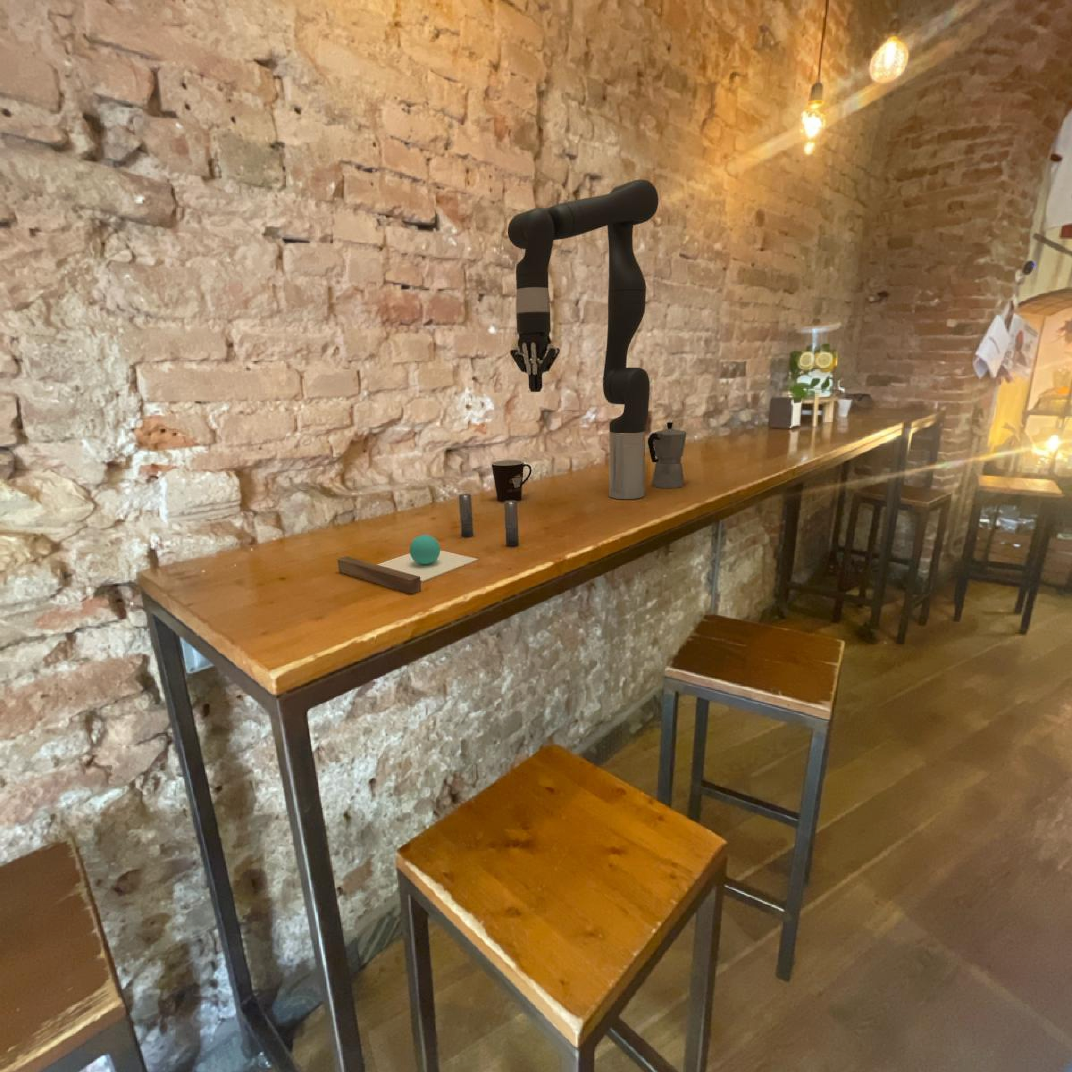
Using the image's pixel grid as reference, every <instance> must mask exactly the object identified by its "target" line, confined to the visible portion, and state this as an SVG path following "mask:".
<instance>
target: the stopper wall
mask: <svg viewBox="0 0 1072 1072" xmlns="http://www.w3.org/2000/svg"><path fill="white" fill-rule="evenodd" d="M337 566H338V568H337V569H338V573H341V574H344V575H348V576H350V577H354V578H357V579H360V580H364V581H366V582H369V583H373V584H376V585H380V586H382V587H386V588H390V589H393V590H396V591H399V592H402V593H406V594H408V595H415V594H417V593H419V591H420V592H422V584H421V581H420V577H419V576H416V575H412V574H409V573H405V572H401V571H398V570H394V569H391V568H387V567H383V566H380V565H377V564H376V563H372V562H369V561H365V560H361V559H358V558H354V557H351V556H347V555H346V556H343V557H340V558H337Z"/></svg>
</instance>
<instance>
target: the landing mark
mask: <svg viewBox="0 0 1072 1072" xmlns="http://www.w3.org/2000/svg"><path fill="white" fill-rule="evenodd" d="M476 561H479V559H478V558H474V557H471V556H466V555H462V554H458V553H453V552H449V551H445V550H442V549H440V554H439V557H438V558H437V560H436V561H435V562H433V563H431V564H429V565H421V564H418V563H416V562H415V561H414V560H413V559H412V557H411V555H410V552H409V553H407V554H403V555H401V556H397V557H394V558H392V559H389V560H386V561H384V562H381V563H377V564H376V565H380V566H383V567H387V568H391V569H394V570H398V571H401V572H405V573H409V574H412V575H416V576H419V577H420V581H421V582H422V583H423V582H426V581H428V580H431V579H433V578H436V577H439V576H441V575H443V574H446V573H449V572H451V571H454V570H456V569H460V568H462V567H463V566H466V565H469V564H472V563H474V562H476Z"/></svg>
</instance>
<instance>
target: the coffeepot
mask: <svg viewBox="0 0 1072 1072" xmlns="http://www.w3.org/2000/svg"><path fill="white" fill-rule="evenodd" d="M673 424H674V423H673V422H672V421H669V422H666V425H667V428H665V429H662V430H661V429H660V430H658V431H655V432H652V433H651V434H650V435H649V436H648V438H647V445H648V450H649V455H650V459H651V462H652V463H655V466H654V470H653V476H652V480H651V486H653V487H654V486H655V488H657V487H658V488H659V489H667V488H668V489H669V490H670V489H678V488H679V489H680V488H683V487H684V485H685V479H684V478H685V477H684V471H683V470H684V469H683V465H682V464H683V463H681V461H682V457H683V456H684V455H683V454H684V450H685V449H684V448H685V444H686V440H687V439H686V437H687V434H688V432H686V431H683V430H679V429H675V428H673ZM682 486H683V487H682Z"/></svg>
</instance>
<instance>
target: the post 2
mask: <svg viewBox="0 0 1072 1072" xmlns="http://www.w3.org/2000/svg"><path fill="white" fill-rule="evenodd" d="M503 506H504V510H503V511H504V527H505V531H504V532H505V546H506V547H509V548H515V547H518V546H520V545H519V544H520V543H519V542H520V540H519V539H520V538H519V515H518V501H512V500H511V501H505V502H503Z"/></svg>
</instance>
